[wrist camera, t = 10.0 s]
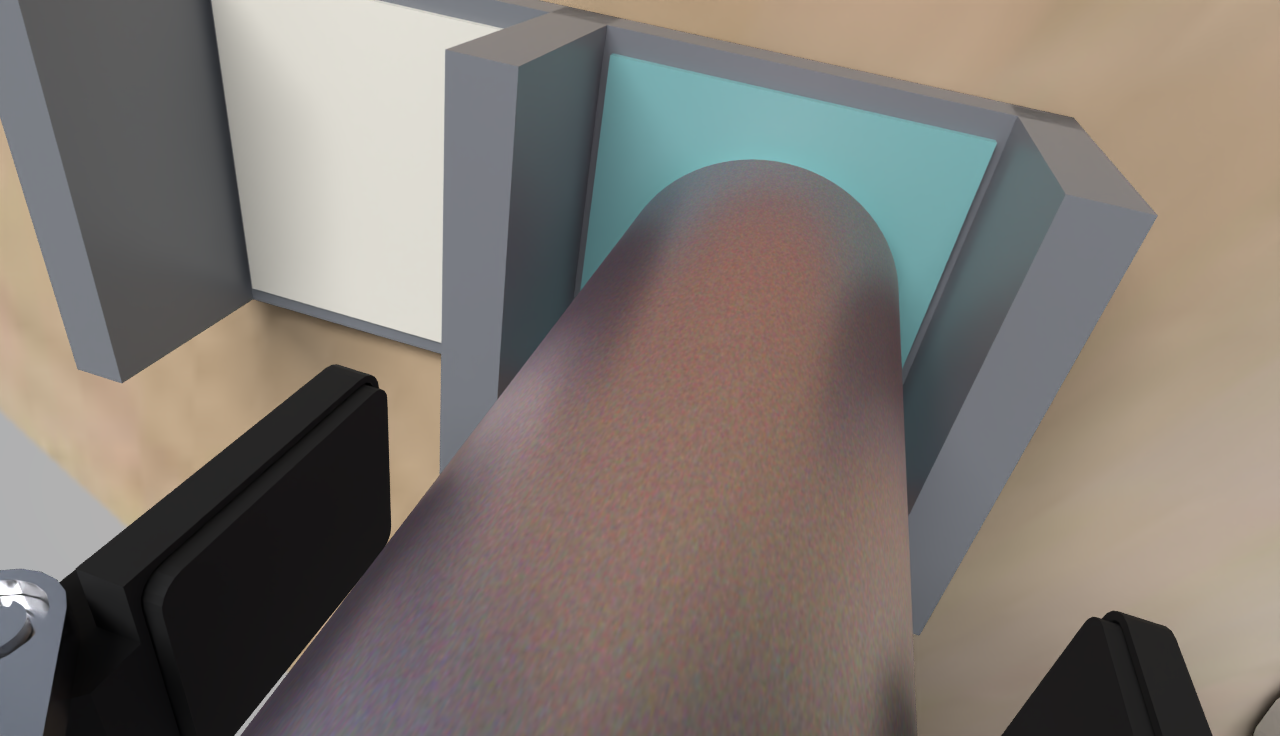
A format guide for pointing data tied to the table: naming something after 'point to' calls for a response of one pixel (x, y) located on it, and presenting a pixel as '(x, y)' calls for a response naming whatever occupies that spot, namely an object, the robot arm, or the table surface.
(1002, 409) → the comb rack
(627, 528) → the beverage can
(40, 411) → the table surface
